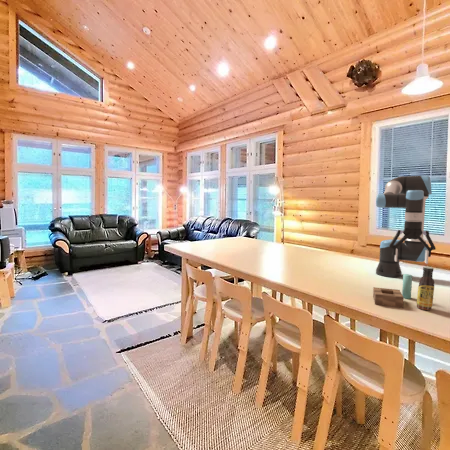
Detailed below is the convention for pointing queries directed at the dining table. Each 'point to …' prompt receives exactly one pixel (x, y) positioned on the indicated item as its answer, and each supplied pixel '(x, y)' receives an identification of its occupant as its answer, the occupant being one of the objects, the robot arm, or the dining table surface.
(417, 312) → the dining table surface
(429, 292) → the sauce bottle
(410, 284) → the dowel
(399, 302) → the socket block
